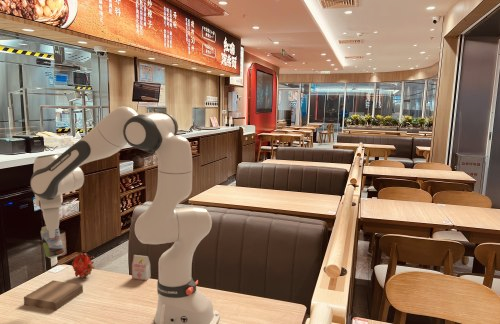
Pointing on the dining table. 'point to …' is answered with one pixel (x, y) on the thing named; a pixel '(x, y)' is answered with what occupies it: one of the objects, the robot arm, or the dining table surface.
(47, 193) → the robot arm
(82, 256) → the dragon fruit
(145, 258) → the tea bag
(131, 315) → the dining table surface
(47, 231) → the beverage can
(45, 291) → the walnut base
